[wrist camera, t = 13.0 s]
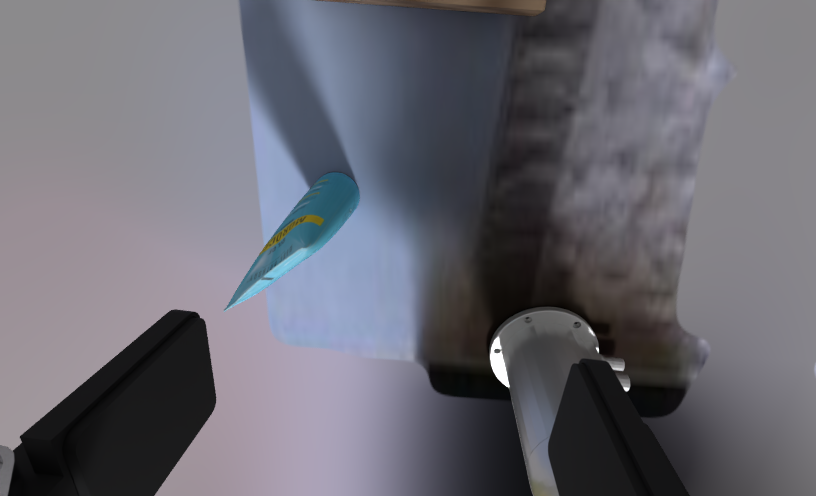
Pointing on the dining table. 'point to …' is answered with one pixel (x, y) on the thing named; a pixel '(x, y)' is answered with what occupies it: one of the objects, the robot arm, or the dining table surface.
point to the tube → (301, 232)
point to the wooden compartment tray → (465, 5)
